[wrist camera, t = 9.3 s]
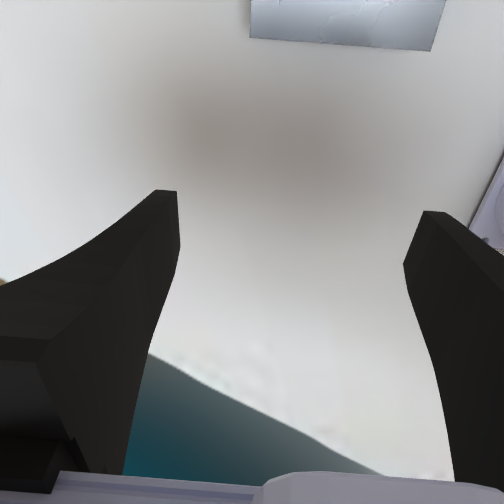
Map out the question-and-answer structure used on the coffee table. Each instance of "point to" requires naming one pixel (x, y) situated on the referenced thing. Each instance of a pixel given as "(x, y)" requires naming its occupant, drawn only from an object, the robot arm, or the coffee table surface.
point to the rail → (349, 22)
